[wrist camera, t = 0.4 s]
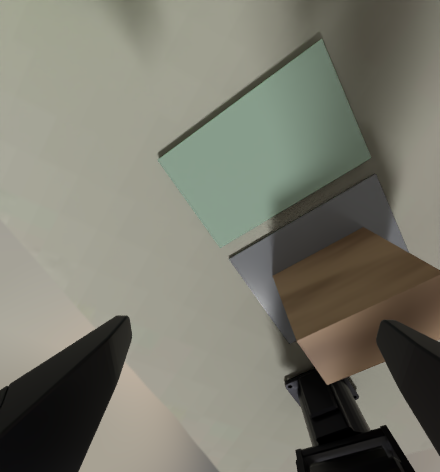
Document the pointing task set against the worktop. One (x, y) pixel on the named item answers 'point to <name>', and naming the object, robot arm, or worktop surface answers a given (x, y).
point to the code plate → (314, 242)
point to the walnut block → (356, 301)
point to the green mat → (269, 148)
